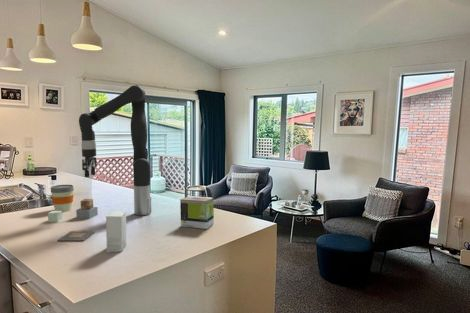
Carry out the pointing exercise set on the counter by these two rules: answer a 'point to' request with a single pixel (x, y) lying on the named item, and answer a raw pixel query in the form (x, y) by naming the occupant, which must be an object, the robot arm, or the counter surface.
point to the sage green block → (54, 216)
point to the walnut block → (86, 204)
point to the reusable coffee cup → (62, 197)
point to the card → (77, 236)
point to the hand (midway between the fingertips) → (90, 176)
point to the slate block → (87, 213)
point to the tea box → (197, 212)
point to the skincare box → (116, 231)
